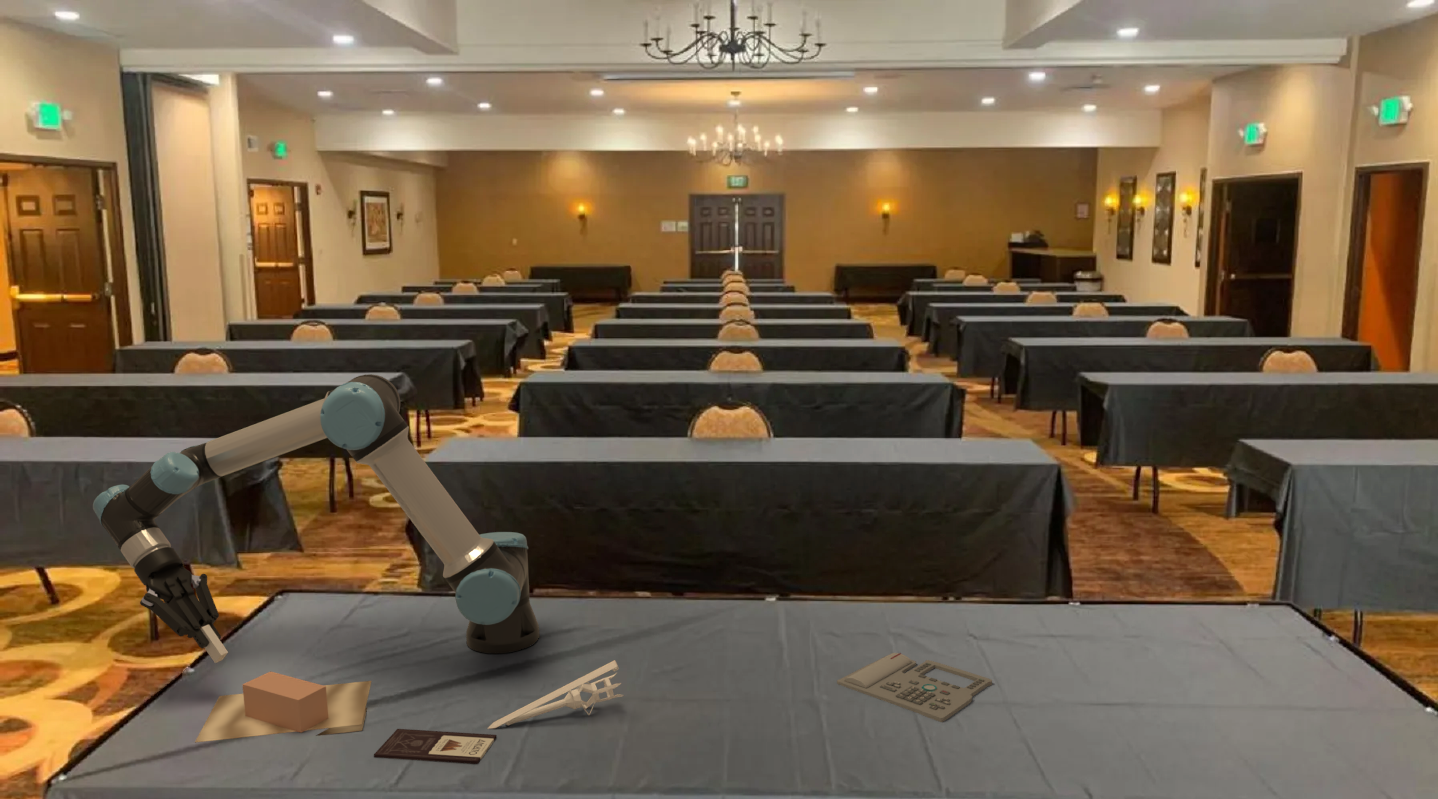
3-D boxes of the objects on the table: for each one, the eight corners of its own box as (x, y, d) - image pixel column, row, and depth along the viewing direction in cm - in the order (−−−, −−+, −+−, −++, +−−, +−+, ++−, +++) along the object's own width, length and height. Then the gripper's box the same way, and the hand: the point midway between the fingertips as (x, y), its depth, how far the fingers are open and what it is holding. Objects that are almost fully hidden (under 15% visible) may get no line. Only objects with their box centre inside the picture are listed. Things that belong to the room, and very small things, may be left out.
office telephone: (835, 674, 202) (894, 642, 216) (835, 687, 202) (894, 655, 217) (942, 711, 186) (998, 674, 201) (942, 725, 187) (998, 687, 201)
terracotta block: (242, 684, 188) (298, 700, 182) (270, 671, 194) (325, 686, 187) (245, 715, 189) (301, 732, 183) (273, 702, 195) (328, 718, 188)
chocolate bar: (397, 728, 186) (496, 734, 183) (397, 733, 186) (496, 739, 183) (373, 754, 177) (477, 761, 174) (374, 759, 177) (477, 766, 174)
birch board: (372, 686, 203) (371, 680, 203) (362, 730, 186) (361, 724, 186) (220, 702, 198) (219, 695, 197) (195, 748, 180) (194, 742, 180)
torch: (511, 764, 191) (636, 699, 193) (491, 743, 184) (621, 676, 187) (502, 735, 195) (625, 672, 197) (482, 714, 188) (610, 648, 191)
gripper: (176, 559, 207) (243, 655, 202) (112, 580, 195) (181, 682, 191) (191, 536, 203) (260, 633, 199) (127, 556, 192) (198, 660, 187)
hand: (221, 657), depth 195 cm, fingers closed
